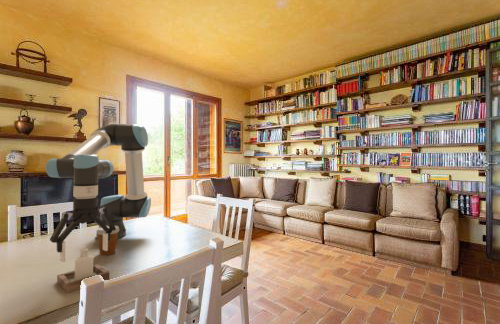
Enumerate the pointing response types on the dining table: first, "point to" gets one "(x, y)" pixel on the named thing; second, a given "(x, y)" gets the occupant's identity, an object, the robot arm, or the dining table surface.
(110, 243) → the disposable coffee cup
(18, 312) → the dining table surface
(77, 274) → the eye dropper bottle
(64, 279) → the wooden tray
